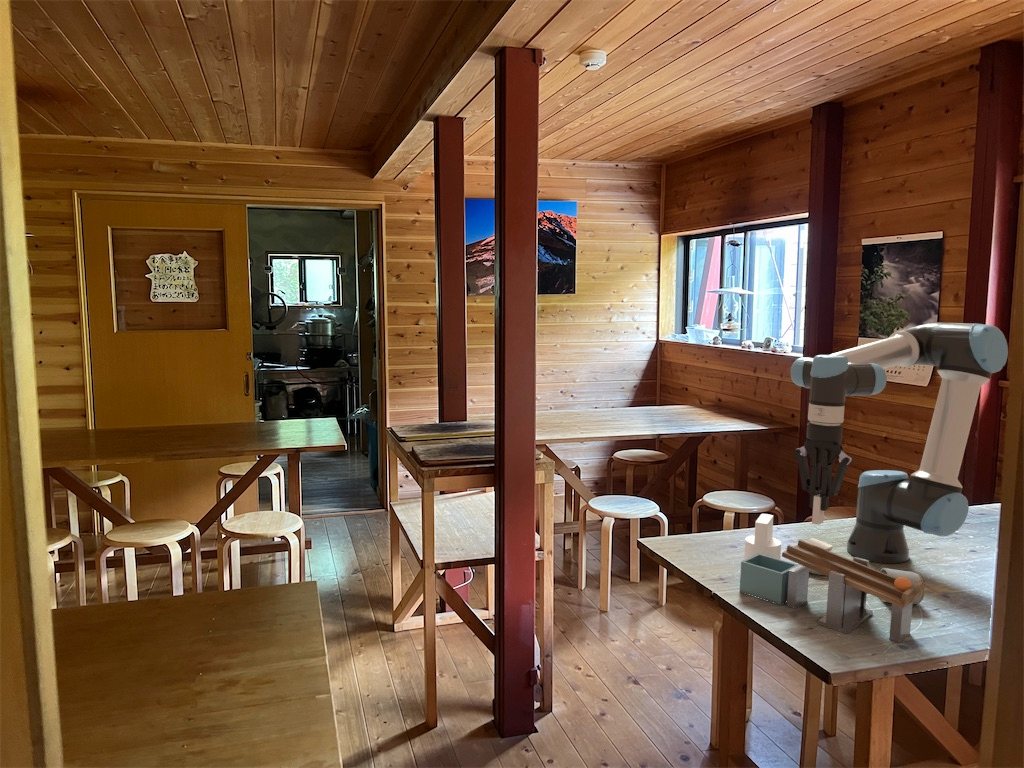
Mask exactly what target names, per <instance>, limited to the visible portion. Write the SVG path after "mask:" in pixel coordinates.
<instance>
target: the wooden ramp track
mask: <svg viewBox="0 0 1024 768" xmlns="http://www.w3.org/2000/svg"><path fill="white" fill-rule="evenodd" d="M833 547H834V546H833V545H832V544H830V543H827V542H825V541H821V540H819V539H816V538H814V537H811V538H808V539H805V540H803V539H798V542H797V545H795V546H793V545H791V544H787V547H786V549H785V550H784V551H783V552H782V551H781V558H782V557H783V558H784V559H786V560H789V561H792V563H793V562H794V563H795V564H797V565H799V564H800V565H803V566H805V567H807V568H810V569H812V570H815V571H817V572H819V573H822V574H824V575H823V576H826V577H829V572H830V571H833V572H837V573H840V574H844V575H846V578H845V584H847V585H850V586H852V587H854V588H857V589H859V590H861V591H864V592H866V593H867V594H869V595H871V596H874V597H876V598H878V599H879V600H881V599H882V600H885V601H887V602H886V603H888V602H889V603H890V604H891V605H892V604H894V605H896V606H899V607H901V608H905V607H906V606H907V605H909V604H910V603H911V602H912V601H914V600H915V599H916V598H917V597H919V596H920V595H921V592H922V588H923V584H924V585H925V581H924V580H923V581H921V580H919V581H918V582H917V583H916V584H914V585H912V587H910V588H909V589H908V590H906V591H905V592H902V591H900V590H897V589H896V588H895V586H894V582H895V580H896V579H897V578H895V577H892V576H890V575H887V574H885V573H882V572H880V570H877V569H874V568H872V567H867V566H865V565H862V564H860V563H857V562H855V561H853V559H850V558H847V557H844V556H842V555H840V554H837V553H836V552H833V551H832V550H833Z"/></svg>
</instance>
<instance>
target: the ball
mask: <svg viewBox="0 0 1024 768" xmlns="http://www.w3.org/2000/svg"><path fill="white" fill-rule="evenodd" d="M894 586H895V588H896V589H897V590H900V591H902V592H905V591H906V590H908V589H909V588H910V587H912V584H911V582H910V580H909V579H907V578H905V577H899V578H897V579H896V580H895V582H894Z"/></svg>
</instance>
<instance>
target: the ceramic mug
mask: <svg viewBox="0 0 1024 768" xmlns="http://www.w3.org/2000/svg"><path fill="white" fill-rule="evenodd" d="M879 571H880V572H882V573H885V574H887V575H890V576H892V577H895V578H899V577H905V578H907V579H909V580H910V582H911V584H912V585H914V584H916V583H917V582H918V581H919V580H921V581H923V582H924V580H923V579H924V578H923V577H922V576H921V575H920V574H919V573H916V572H913V571H908V570H907V571H906V570H901V569H900V570H899V569H893V568H888V567H882V568H881V569H880V570H879ZM924 596H925V583H924V584H923V588H922V592H921V595H920V596H919V597H917V598H916V599H915V600H914V601H913V604H912V605H917V604H920V603H921V602H922V601H923V600H924ZM880 601H881V602H882V603H889V602H887V601H885V600H882V599H880Z"/></svg>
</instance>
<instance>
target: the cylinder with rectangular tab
mask: <svg viewBox="0 0 1024 768" xmlns="http://www.w3.org/2000/svg"><path fill="white" fill-rule="evenodd" d="M754 525H755V526H754V535H748V536H746V537H745V539H744V540H745V542H744V555H743V556H744V557H743V559H744V560H746V559H748V558H750V557H752V556H754V555H756V554H758V553H759V554H762V555H766V556H769V557H773V558H776V559H780V560H781V558H782V541H781V540H780V539H778V538H776V537H773V531H774V529H773V528H774V514H773V515H772V514H768V513H761V514H760V515H759V517H757V519H756V520H755V523H754ZM744 560H743V561H744Z"/></svg>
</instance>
